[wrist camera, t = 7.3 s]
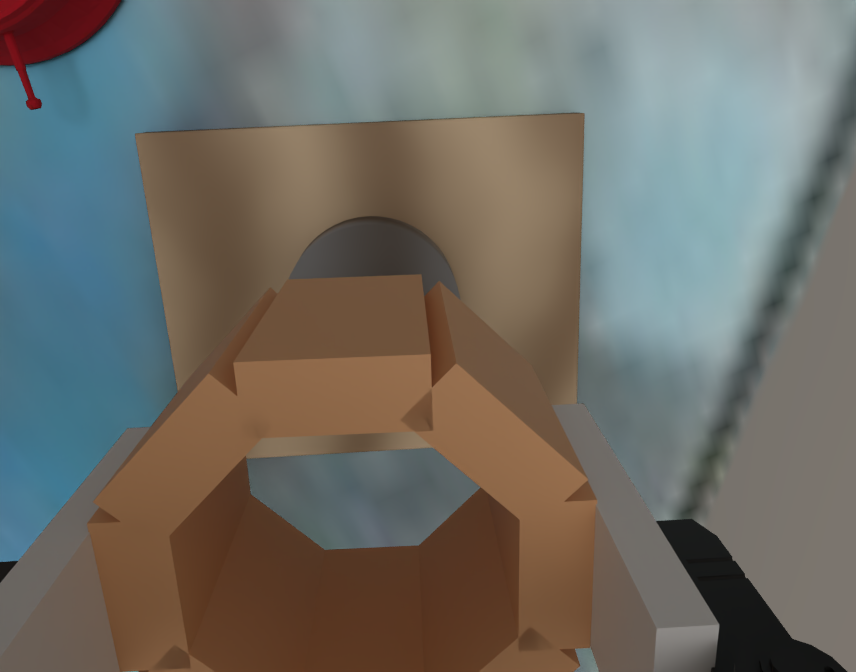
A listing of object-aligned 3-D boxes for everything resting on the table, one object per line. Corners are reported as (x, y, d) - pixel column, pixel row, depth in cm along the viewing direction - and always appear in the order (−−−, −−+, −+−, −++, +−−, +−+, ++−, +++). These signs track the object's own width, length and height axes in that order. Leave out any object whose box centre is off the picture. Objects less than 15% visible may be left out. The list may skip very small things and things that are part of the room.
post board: (197, 448, 30) (118, 589, 22) (146, 132, 26) (23, 148, 18) (569, 426, 31) (638, 555, 22) (576, 112, 27) (664, 119, 18)
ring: (213, 597, 17) (141, 786, 12) (166, 283, 15) (54, 369, 10) (534, 582, 17) (583, 762, 13) (540, 269, 15) (605, 347, 10)
